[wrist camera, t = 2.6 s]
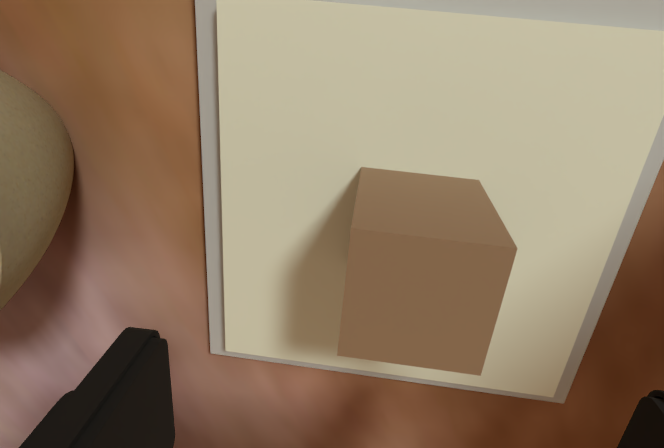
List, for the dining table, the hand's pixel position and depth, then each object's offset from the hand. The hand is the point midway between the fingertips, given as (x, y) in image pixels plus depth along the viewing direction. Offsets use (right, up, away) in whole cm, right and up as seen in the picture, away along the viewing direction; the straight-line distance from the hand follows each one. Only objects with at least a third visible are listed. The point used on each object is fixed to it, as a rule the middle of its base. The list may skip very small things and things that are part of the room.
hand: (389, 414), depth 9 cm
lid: (+2, +4, +8) cm, 9 cm away
